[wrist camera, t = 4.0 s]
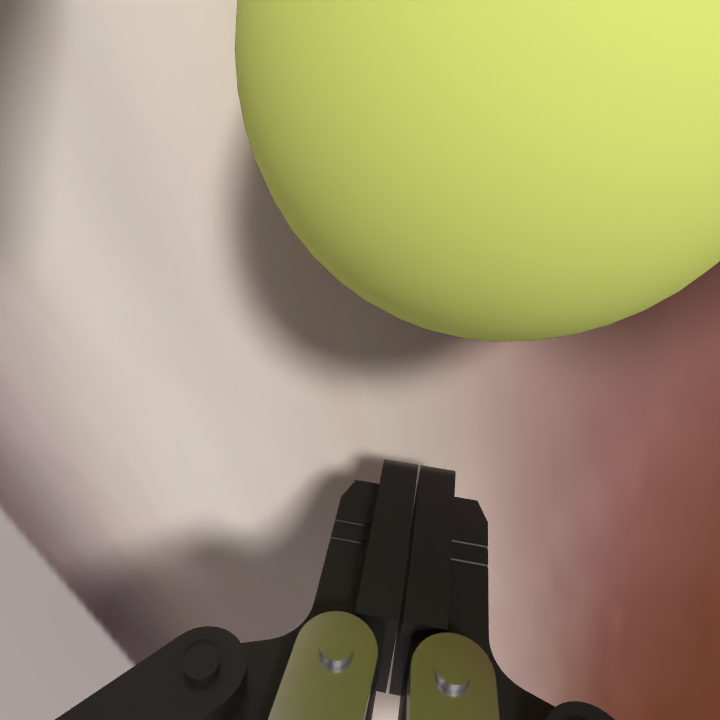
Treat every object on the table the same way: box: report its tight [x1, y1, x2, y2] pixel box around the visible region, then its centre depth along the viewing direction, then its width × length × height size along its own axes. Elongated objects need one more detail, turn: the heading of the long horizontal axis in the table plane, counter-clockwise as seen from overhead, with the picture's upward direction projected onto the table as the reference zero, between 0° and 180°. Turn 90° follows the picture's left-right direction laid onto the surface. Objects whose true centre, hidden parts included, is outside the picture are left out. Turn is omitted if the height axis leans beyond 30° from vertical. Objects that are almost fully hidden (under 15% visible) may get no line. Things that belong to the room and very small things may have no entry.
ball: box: [235, 0, 720, 342], centre depth 7 cm, size 6×6×6 cm
